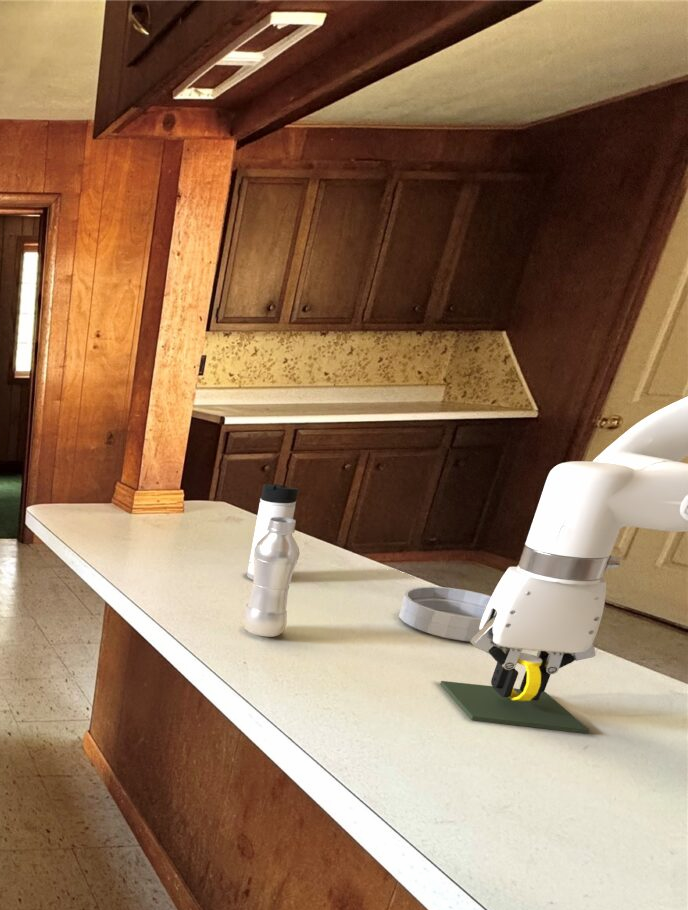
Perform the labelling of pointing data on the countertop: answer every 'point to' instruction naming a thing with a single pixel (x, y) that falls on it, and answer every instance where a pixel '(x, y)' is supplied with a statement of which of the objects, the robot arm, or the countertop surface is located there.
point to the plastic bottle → (272, 579)
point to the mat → (511, 708)
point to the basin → (444, 611)
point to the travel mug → (272, 512)
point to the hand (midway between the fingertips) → (514, 692)
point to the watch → (529, 677)
